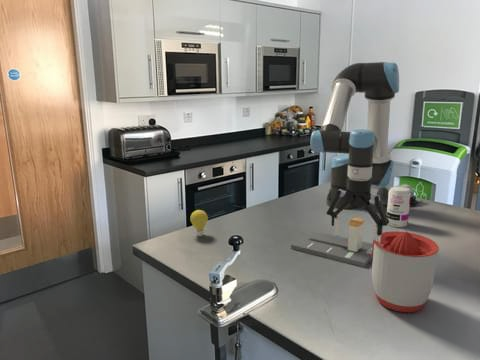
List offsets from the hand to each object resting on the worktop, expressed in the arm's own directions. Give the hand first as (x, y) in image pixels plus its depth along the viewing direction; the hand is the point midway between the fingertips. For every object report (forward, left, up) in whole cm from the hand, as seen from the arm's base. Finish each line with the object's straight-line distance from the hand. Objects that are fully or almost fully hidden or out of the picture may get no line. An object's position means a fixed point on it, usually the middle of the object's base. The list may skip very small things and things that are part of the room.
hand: (355, 239), depth 133 cm
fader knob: (0, 0, -3) cm, 3 cm away
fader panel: (0, -7, -5) cm, 9 cm away
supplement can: (-36, +5, -5) cm, 37 cm away
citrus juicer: (+22, +19, -5) cm, 30 cm away
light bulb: (+16, -55, -5) cm, 58 cm away
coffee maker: (-57, -6, -1) cm, 57 cm away
